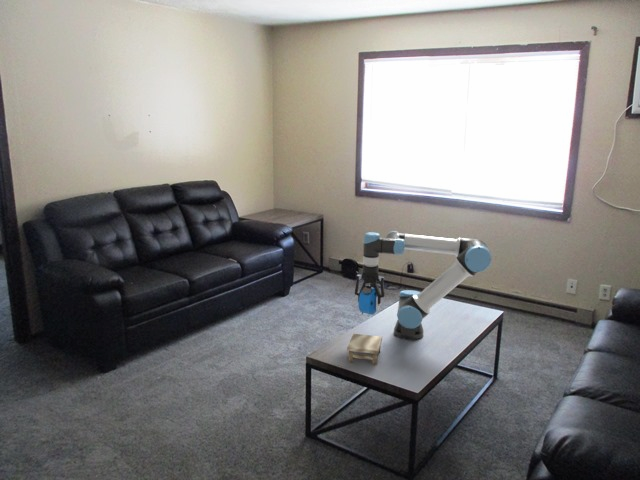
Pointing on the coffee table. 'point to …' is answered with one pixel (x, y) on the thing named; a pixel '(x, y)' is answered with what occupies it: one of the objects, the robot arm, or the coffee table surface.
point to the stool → (364, 347)
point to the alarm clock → (368, 299)
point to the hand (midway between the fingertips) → (369, 309)
